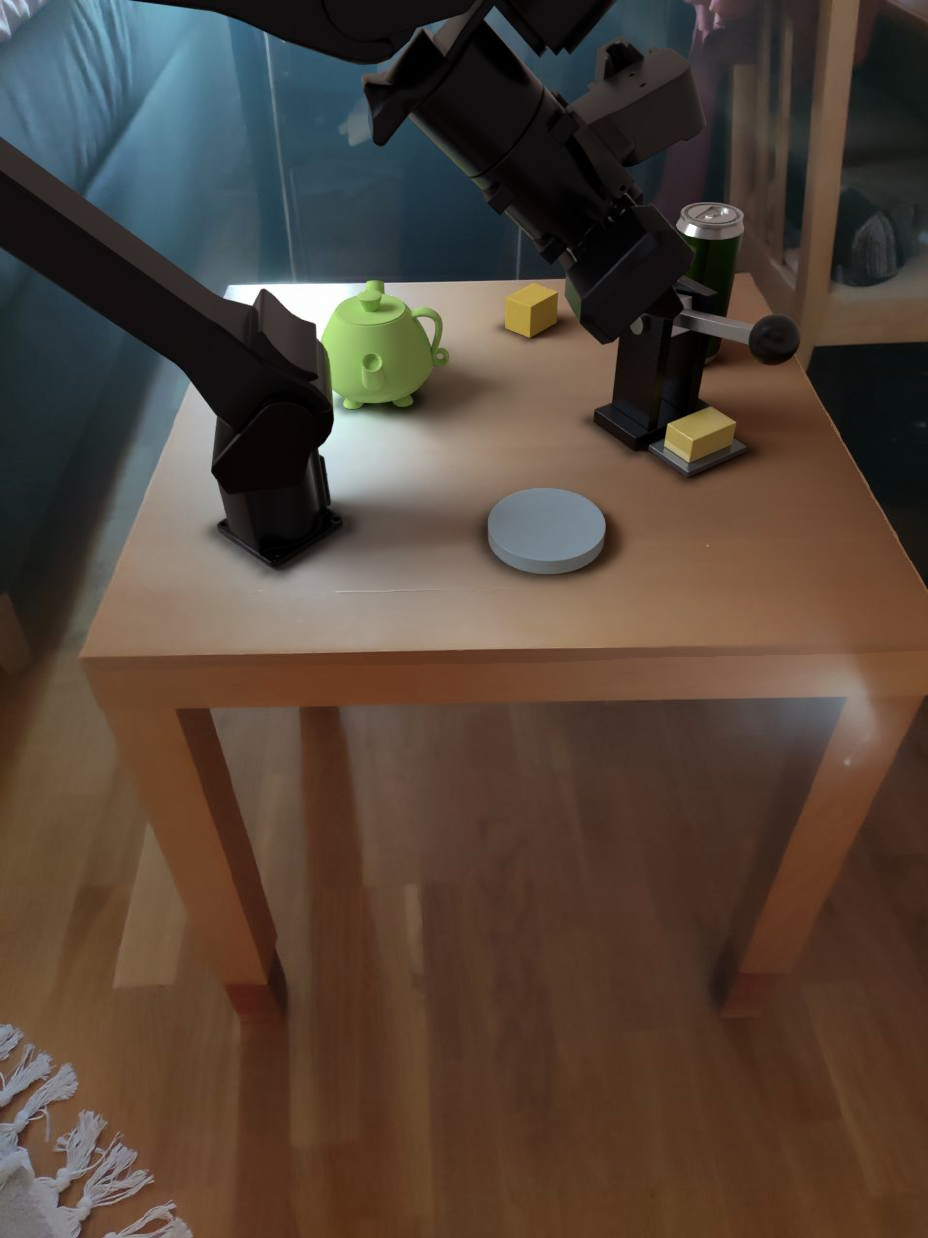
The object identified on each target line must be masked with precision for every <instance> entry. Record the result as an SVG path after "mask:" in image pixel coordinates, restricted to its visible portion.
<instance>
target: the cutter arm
mask: <svg viewBox="0 0 928 1238" xmlns="http://www.w3.org/2000/svg"><path fill="white" fill-rule="evenodd" d="M678 296H679V298H680V300H681V301H682V303H683V305H684V309H683V311H682V312H681V313H680V314H679V315H678V316H677V317H676V318H674V322H673V329H672V335H671V337H673V336H676V335H678V334H681V333H684V332H687V331H689V330H693V331H697V332H701V333H705V334H709V335H713V336H717V337H720V338H722V339H725V340H729V341H733V342H736V343H741V344H745V345H748V349H749V352H750V354H751V356H752V357H753V358H754V360H756V361H757V362H758V363H760V364H762V365H765V366H779V365H783V364H784V363H786V362H788V361H789V360H791V359H792V357H794V356H795V354H797V351H798V349H799V348H800V343H801V330H800V328H799V326H798V324H797V323H796V321H795V320H794V319H793V318H791V317H790V316H788V315H785V314H782V313H771V314H768V315H766V316H764V317H761V318H760V319H759V320H757V322H756V323H751V322H747V321H742V320H737V319H735V318H734V319H733V318H729V317H727V318H725V317H721V316H716V315H712V314H708V313H703V312H699V311H695V310H692V297H691V296H687V295H682V294H678Z"/></svg>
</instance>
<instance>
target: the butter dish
mask: <svg viewBox="0 0 928 1238" xmlns="http://www.w3.org/2000/svg"><path fill="white" fill-rule="evenodd" d="M736 428H737V421H735V420H733V419H732V418H730V417H729V416H727V415H726V414H724V413H722V412H721V411H719V410H717V409H716V408H714V407H713V406H712V407H708V408H705V409H703V410H700V411H698V412H695V413H693V414H690V415H688V416H686V417H683V418H681V419H678V420H676V421H673V422H671V423H668V425H667V431H666V437H665V438H663V439H661V440H659V441H656V442H654V443H651V444H649V445H648V451H649V452H650V453H651V454H652V455H655V457H657V458H659V459H660V460H661V461H663V462H665V463H666V464H667V465H669V466H670V467H672V468H673V469H674V470H676V471H678V472H679V473H680V474H681V475H683V476H684V477H685V478H689V477H691V476H694V475H696V474H699V473H701V472H703V471H706V470H707V469H710V468H713V467H715V466H716V465H719V464H722V463H723V462H725V461H726V462H727V461H728V460H731V459H733V458H735V457H737V456H739V455H742V454H743V453H746V452H747V447H748V446H746V445H745V444H744V443H742V442H740V441H739V440H737V439H736V438H734V437H735V432H736Z"/></svg>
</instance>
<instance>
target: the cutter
mask: <svg viewBox="0 0 928 1238" xmlns="http://www.w3.org/2000/svg"><path fill="white" fill-rule="evenodd" d="M673 287H674V288H675V290H676V292H677V294H682V295H687V296H691V297H692V310H695V311H699V312H703V313H708V314H712V315H714V311H715V306H716V300H717V295H718V292H716V291H714V290H712V289H710V288H708V287H706V286H704V285H702V284H700V283H698V282H696V281H694V280H692V279H690V278H688V277H686V276H684V275H683V276H682V277H681V278H680V279H678V280H677V281H676V282H675V283H674V284H673ZM673 322H674V319H673V320H667V319H664V318H660V317H656V316H652V315H648V314H645V313H643V314H642V315H641V316H640V317H639V318H638V319H637V320H636V321H635V322H634V323H633V324H632V325H631V326H630V327H629V328H628V329H627V330H625V331H624V332H623V333H622V334H621V335H620V336H619V337H618V342H617V343H618V344H617V353H616V359H615V360H616V361H615V370H614V371H615V372H614V379H613V387H612V388H613V389H612V397H611V402H609V403H607V404H605V405H602V406H600V407H597V408H594V412H593V421H592V422H593V423H594V424H595V425H596V426H598V427H599V428H601V429H602V430H603V431H605V432H607V433H608V434H609V435H610V436H612V437H613V438H615V439H616V440H618V441H619V442H621V443H622V444H623V445H624V446H626V447H628V448H629V449H630V450H632V451H637V450H640V449H642V448H644V447H646V446H649V445H650V444H652V443H655V442H657V441H659V440H662V439H664V438H665V437H666V431H667V425H668V423H671V422H673V421H676V420H678V419H681V418H683V417H686V416H688V415H690V414H693V413H695V412H698V411H700V410H703V409H705V408H708V407H712V408H713V406H712V405H711V404H709V403H707V402H706V401H704V400H703V399H701V398H700V397H699V395H700V391H701V385H702V381H703V380H702V379H703V375H704V369H705V365H706V364H705V359H706V354H707V348H708V343H709V338H710V335H709V334H705V333H701V332H697V331H693V330H689V331H687V332H684V333H681V334H678V335H676V336H673V337H671V335H672V329H673Z"/></svg>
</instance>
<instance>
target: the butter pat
mask: <svg viewBox="0 0 928 1238" xmlns="http://www.w3.org/2000/svg"><path fill="white" fill-rule="evenodd" d="M558 304H559V291H556V290H553V289H550V288H548V287H545V286H542V285H539V284H537V283H535V282H534V283H530V284H529V285H527V286H525V287H522V288H521V289H519V290H517V291H515V292H513V293H512V294H510V295H508V296H506V297H505V314H504V315H505V317H504V321H505V323H504V324H505V325H504V328H505V329H506V330H509V331H511V332H514V333H516V334H519V335H521V336H524V337H526V338H529V339H530V338H532V337H534V336H536V335H537V334H539V333H541V332H543V331H545V330H546V329H548V328H549V327H551V326H553V325H555V324H557V321H558Z"/></svg>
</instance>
